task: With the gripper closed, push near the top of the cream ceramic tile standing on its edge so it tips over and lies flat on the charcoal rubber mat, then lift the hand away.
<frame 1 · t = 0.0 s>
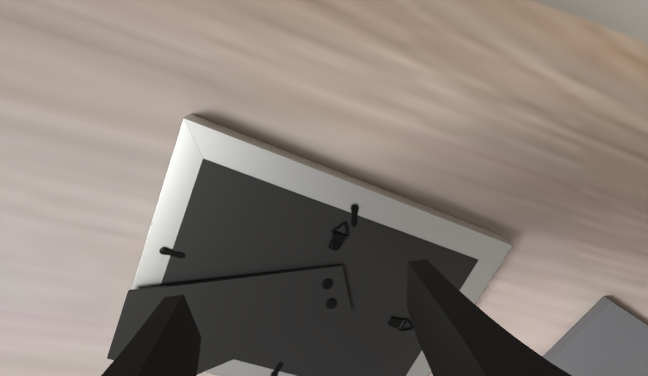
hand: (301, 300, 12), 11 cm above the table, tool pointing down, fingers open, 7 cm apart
picture frame: (310, 277, 25), on the table
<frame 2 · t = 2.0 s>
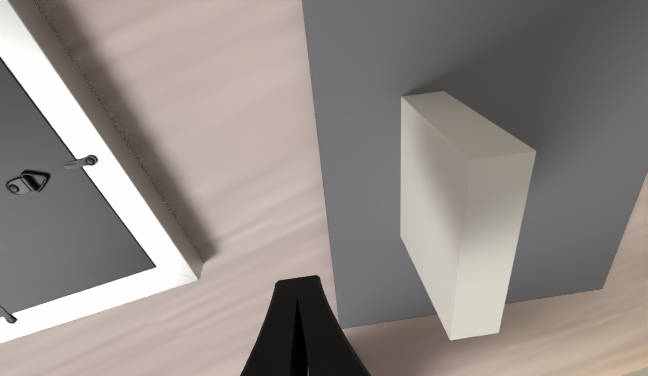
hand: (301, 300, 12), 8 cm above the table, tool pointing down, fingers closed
mat: (489, 155, 19), on the table
tile: (419, 170, 19), point 1 cm above the table, touching mat
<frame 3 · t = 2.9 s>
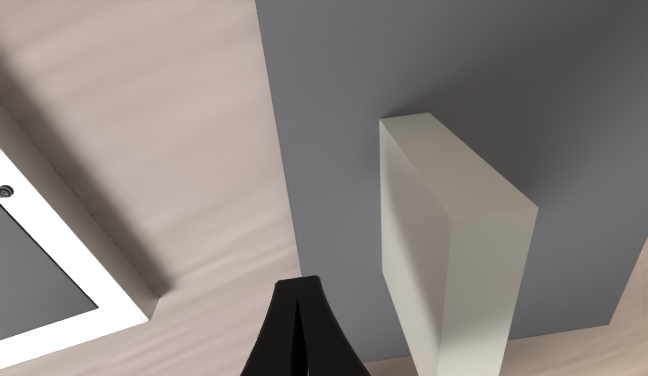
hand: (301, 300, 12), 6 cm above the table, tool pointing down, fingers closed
mat: (483, 183, 17), on the table
tile: (402, 201, 16), point 1 cm above the table, touching mat
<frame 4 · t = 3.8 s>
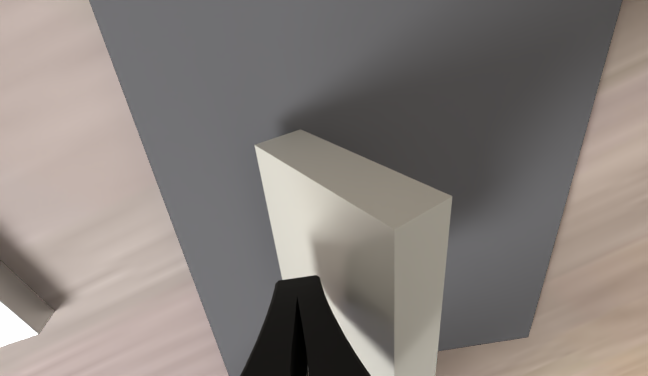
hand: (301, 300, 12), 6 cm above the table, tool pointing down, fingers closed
mat: (375, 198, 17), on the table
tile: (292, 223, 16), point 1 cm above the table, tilted 30°, touching mat
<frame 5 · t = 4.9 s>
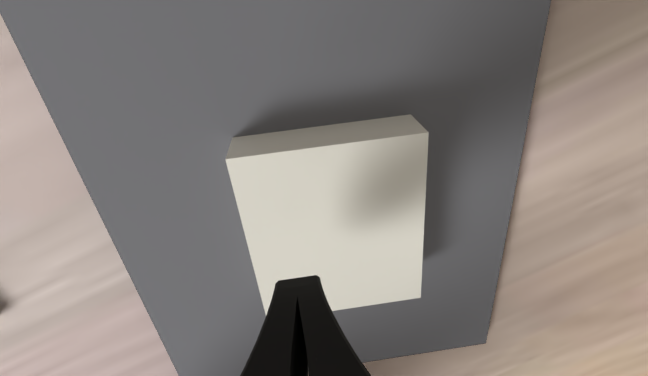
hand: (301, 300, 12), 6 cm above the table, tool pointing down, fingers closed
mat: (317, 205, 17), on the table
tile: (251, 236, 15), point 2 cm above the table, tilted 90°, touching mat
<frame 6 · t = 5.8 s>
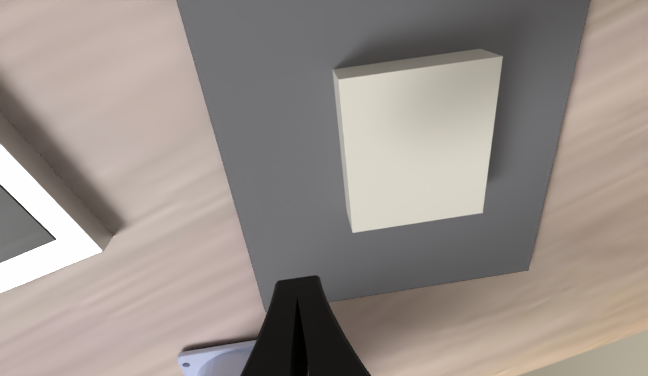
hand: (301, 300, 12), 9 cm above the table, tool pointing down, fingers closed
mat: (393, 135, 19), on the table
tile: (343, 156, 18), point 2 cm above the table, tilted 90°, touching mat
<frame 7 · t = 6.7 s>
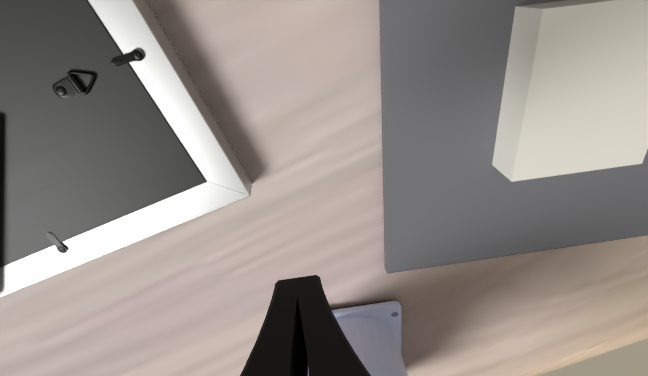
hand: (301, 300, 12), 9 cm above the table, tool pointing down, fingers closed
mat: (550, 84, 19), on the table
tile: (513, 99, 17), point 2 cm above the table, tilted 90°, touching mat
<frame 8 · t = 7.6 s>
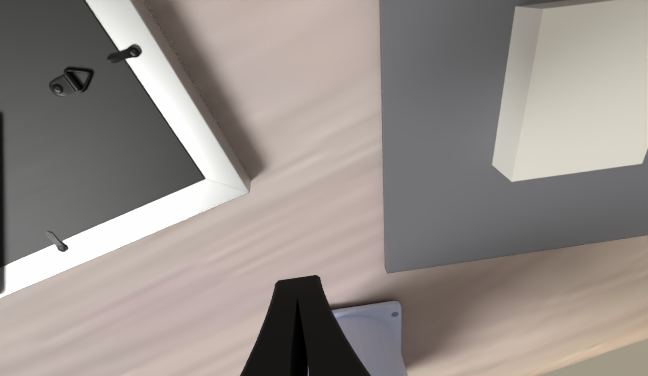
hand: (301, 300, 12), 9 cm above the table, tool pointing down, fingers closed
mat: (550, 84, 19), on the table
tile: (513, 99, 17), point 2 cm above the table, tilted 90°, touching mat
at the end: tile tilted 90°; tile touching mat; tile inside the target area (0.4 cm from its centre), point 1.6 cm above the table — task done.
